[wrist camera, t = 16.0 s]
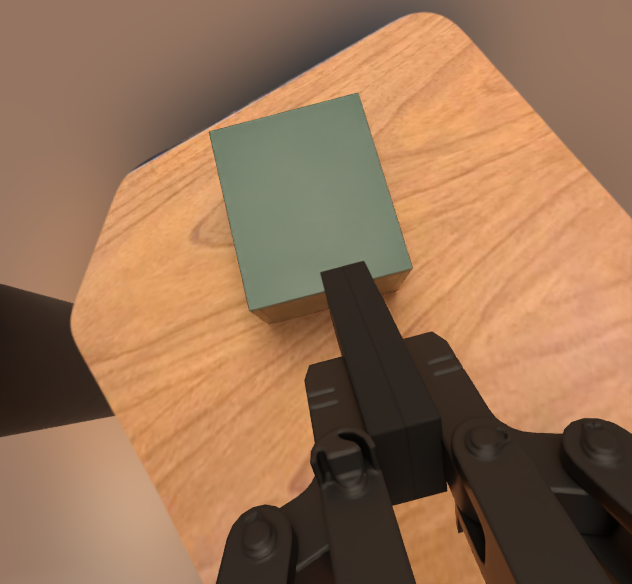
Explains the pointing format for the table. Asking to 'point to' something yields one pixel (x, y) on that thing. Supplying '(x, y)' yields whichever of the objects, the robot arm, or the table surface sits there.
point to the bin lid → (306, 200)
